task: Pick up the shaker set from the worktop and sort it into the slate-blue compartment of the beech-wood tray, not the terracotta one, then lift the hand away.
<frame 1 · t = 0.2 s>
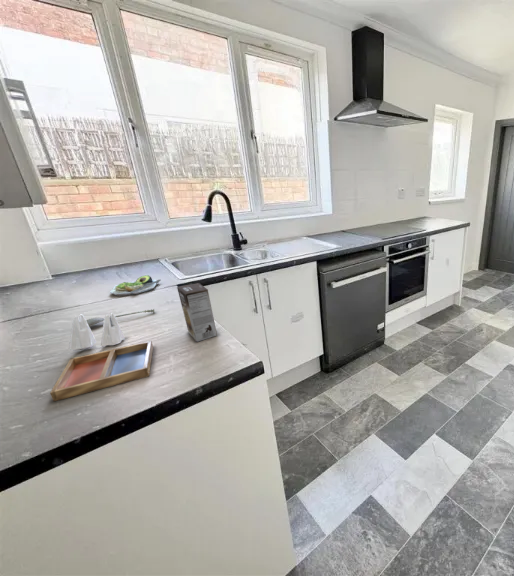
coffee box: (202, 334, 101), on the countertop
shaker set: (99, 347, 93), on the countertop
sorting tray: (110, 370, 81), on the countertop
avocado toast plate: (136, 289, 142), on the countertop
soupspoon: (118, 321, 110), on the countertop
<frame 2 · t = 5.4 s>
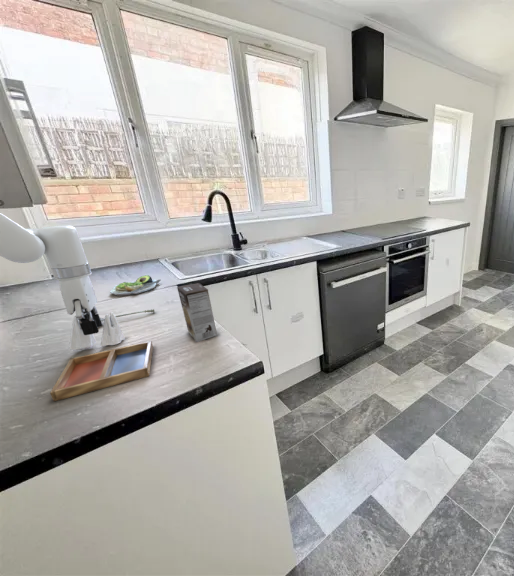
hand: (93, 329, 91), 6 cm above the countertop, tool pointing down, fingers closed on shaker set, 4 cm apart
shaker set: (99, 347, 93), on the countertop, touching gripper
everything else where it was.
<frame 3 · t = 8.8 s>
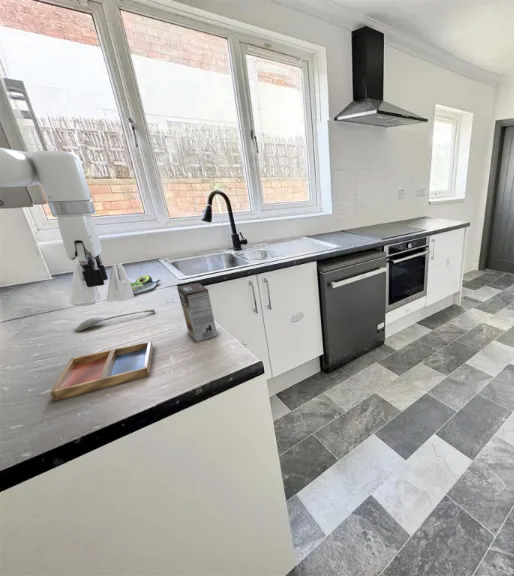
hand: (97, 282, 78), 23 cm above the countertop, tool pointing down, fingers closed on shaker set, 4 cm apart
shaker set: (105, 304, 80), point 17 cm above the countertop, touching gripper
everything else where it was.
when the fingers open (8 cm above the countertop, at t = 12.6 s): shaker set stays where it is, resting on sorting tray.
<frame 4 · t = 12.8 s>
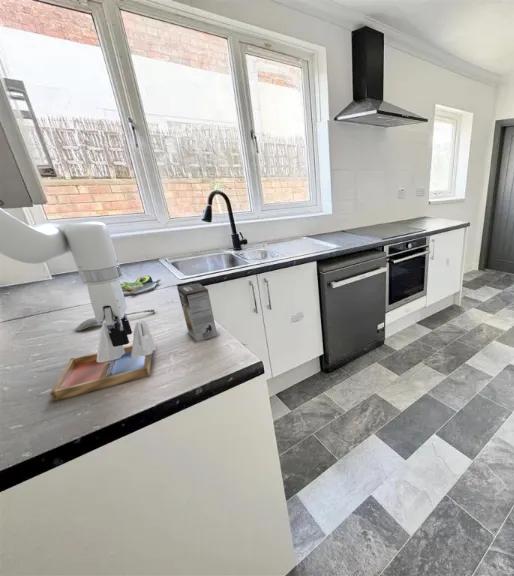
hand: (123, 339, 81), 8 cm above the countertop, tool pointing down, fingers open, 5 cm apart
shaker set: (129, 358, 83), point 2 cm above the countertop, touching sorting tray
everything else where it was.
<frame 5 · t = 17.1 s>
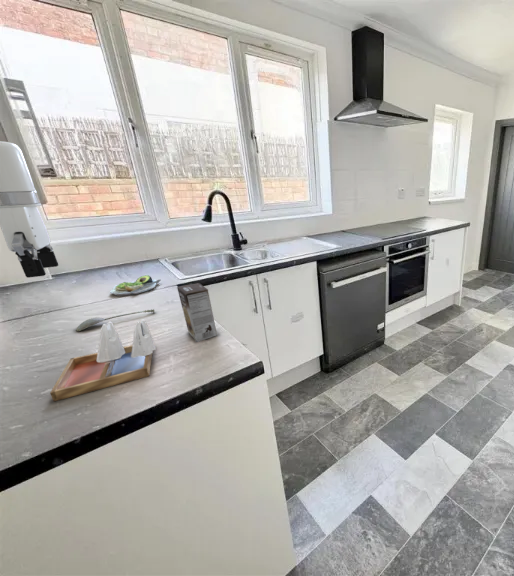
hand: (43, 271, 77), 26 cm above the countertop, tool pointing down, fingers open, 9 cm apart
nothing on the countertop moved.
at the end: shaker set inside the target area on the sorting tray (0.2 cm from its centre), point 2.2 cm above the sorting tray's base; shaker set tilted 0°; the gripper is holding nothing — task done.
